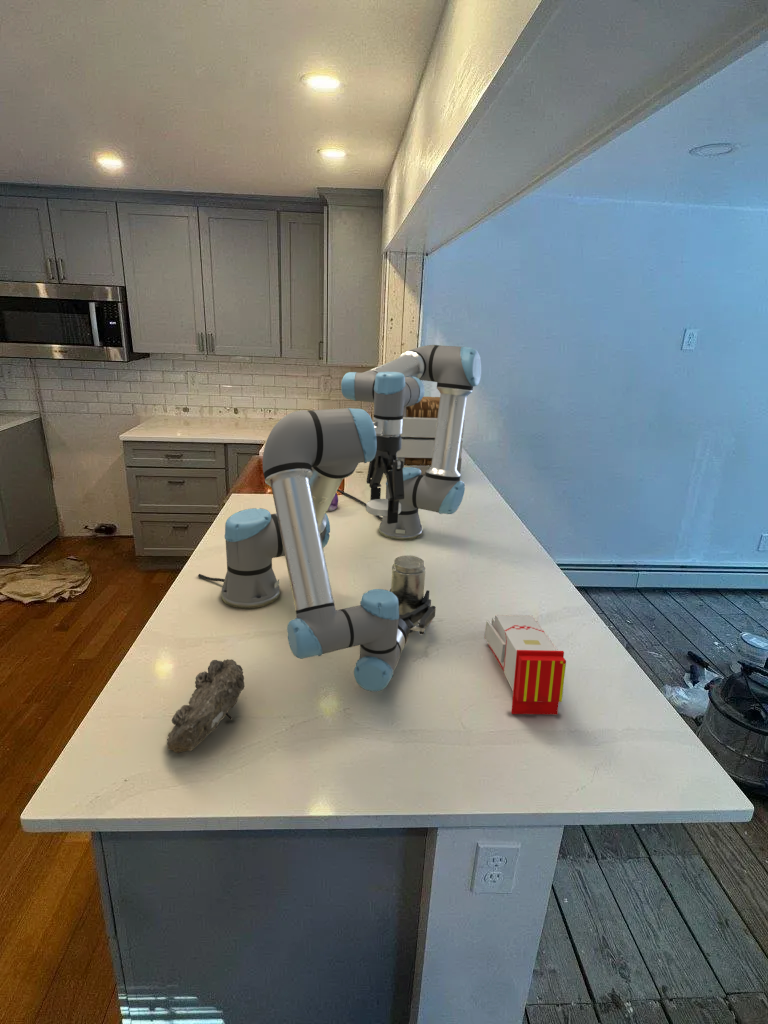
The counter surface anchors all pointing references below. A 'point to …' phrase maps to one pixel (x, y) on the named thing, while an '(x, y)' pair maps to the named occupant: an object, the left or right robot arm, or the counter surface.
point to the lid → (379, 507)
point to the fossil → (206, 705)
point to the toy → (527, 663)
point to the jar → (408, 583)
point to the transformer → (421, 433)
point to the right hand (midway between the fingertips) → (383, 516)
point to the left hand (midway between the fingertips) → (410, 592)
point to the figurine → (333, 503)
